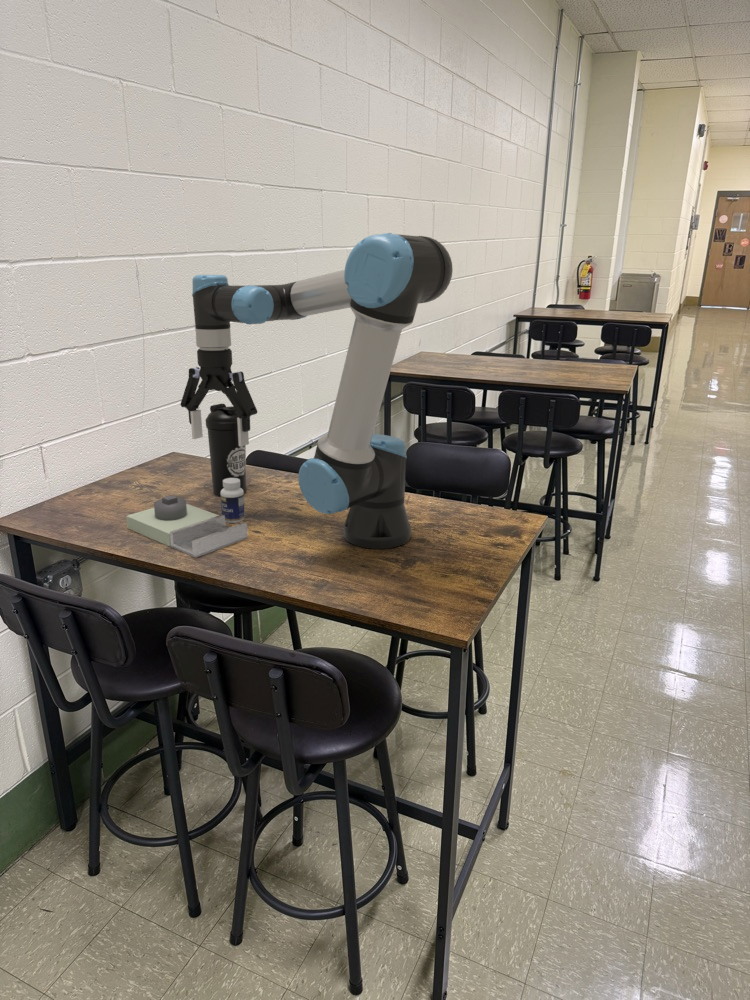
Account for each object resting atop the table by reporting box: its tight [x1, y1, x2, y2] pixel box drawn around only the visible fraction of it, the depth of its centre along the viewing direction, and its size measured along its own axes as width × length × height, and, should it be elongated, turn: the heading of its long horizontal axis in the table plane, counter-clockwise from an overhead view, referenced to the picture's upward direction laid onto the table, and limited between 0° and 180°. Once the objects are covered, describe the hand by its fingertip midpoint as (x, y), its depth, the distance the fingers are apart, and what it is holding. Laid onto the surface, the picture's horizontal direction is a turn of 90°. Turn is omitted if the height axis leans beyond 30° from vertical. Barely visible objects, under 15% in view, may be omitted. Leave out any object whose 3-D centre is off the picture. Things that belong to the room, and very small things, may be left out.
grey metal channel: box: [170, 514, 249, 559], centre depth 149 cm, size 8×14×4 cm, turn 142°
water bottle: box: [205, 403, 247, 498], centre depth 177 cm, size 10×10×23 cm
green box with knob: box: [125, 494, 220, 548], centre depth 155 cm, size 16×14×7 cm
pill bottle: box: [220, 478, 246, 524], centre depth 161 cm, size 5×5×10 cm
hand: (220, 441), depth 159 cm, fingers open, 13 cm apart
